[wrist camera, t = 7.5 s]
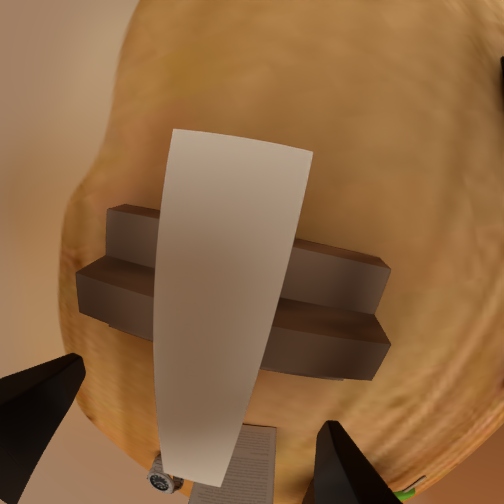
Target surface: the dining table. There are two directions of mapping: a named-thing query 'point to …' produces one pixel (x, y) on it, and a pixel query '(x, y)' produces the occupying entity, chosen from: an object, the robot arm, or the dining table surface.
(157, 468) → the wristwatch
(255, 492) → the skincare box
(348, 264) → the ridge block
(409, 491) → the popsicle
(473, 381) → the dining table surface
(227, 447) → the light gray bar
